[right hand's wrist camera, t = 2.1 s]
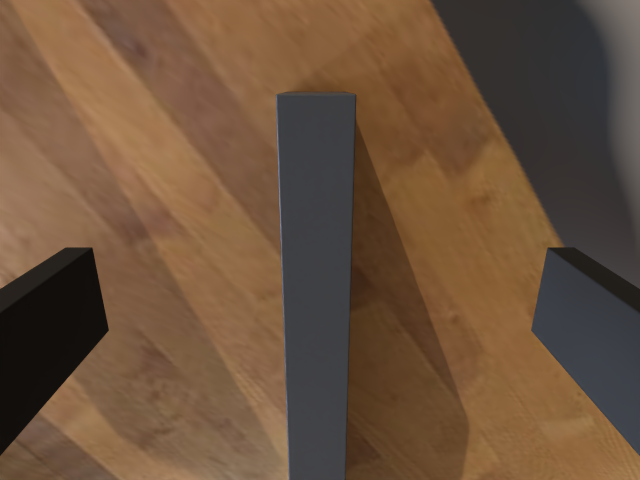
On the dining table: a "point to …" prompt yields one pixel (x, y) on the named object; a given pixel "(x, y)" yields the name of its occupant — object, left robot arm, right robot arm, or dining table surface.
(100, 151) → the dining table surface
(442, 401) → the dining table surface
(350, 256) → the beam
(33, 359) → the right robot arm
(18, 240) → the dining table surface
